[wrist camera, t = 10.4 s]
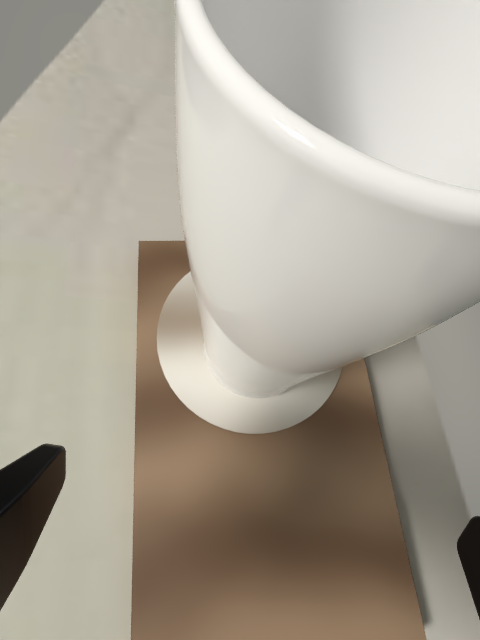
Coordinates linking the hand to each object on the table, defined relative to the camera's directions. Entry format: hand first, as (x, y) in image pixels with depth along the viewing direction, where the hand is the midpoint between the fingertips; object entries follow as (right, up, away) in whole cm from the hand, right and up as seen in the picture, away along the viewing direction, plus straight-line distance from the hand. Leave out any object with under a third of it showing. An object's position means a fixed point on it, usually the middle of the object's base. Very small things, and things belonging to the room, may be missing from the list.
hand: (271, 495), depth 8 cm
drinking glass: (0, +2, +11) cm, 11 cm away
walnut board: (0, -1, +11) cm, 11 cm away
